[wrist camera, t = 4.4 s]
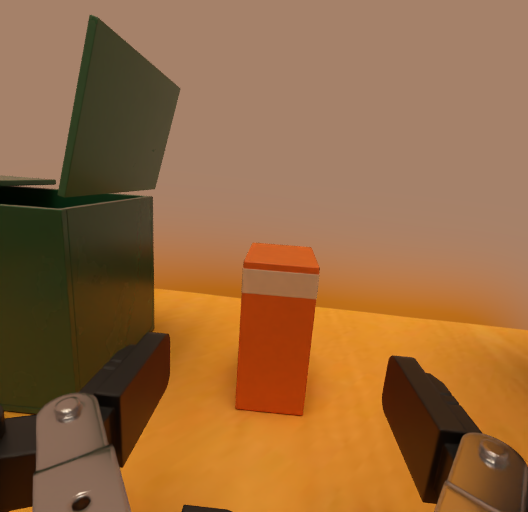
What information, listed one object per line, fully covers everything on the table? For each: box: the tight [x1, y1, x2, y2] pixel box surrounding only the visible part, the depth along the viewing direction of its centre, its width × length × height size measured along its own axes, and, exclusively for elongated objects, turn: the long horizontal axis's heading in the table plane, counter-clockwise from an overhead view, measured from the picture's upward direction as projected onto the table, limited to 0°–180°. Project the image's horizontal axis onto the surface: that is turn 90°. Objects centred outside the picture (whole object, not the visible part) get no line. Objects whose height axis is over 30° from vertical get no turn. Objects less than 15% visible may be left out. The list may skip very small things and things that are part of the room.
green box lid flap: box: [58, 15, 180, 197], centre depth 21 cm, size 8×12×1 cm
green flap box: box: [0, 176, 154, 414], centre depth 24 cm, size 17×12×13 cm
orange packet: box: [235, 243, 320, 415], centre depth 22 cm, size 4×6×10 cm
